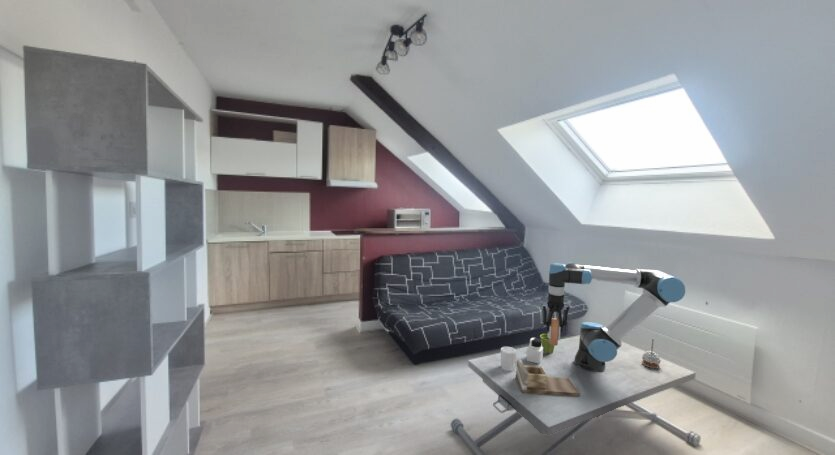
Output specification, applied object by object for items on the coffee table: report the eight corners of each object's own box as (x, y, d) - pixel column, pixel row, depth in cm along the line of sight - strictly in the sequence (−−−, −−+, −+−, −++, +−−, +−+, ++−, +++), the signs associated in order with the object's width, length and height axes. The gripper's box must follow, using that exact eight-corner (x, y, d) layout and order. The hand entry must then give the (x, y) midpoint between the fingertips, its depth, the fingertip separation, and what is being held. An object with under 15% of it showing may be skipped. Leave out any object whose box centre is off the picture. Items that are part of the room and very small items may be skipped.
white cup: (515, 372, 175) (517, 354, 174) (500, 370, 176) (501, 352, 175) (514, 365, 182) (515, 347, 181) (499, 363, 184) (500, 345, 183)
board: (568, 380, 168) (570, 362, 167) (579, 396, 155) (581, 376, 154) (515, 377, 170) (516, 359, 169) (521, 392, 157) (523, 373, 156)
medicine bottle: (542, 359, 190) (543, 338, 189) (539, 364, 184) (540, 343, 183) (529, 355, 194) (530, 335, 193) (526, 360, 188) (527, 339, 187)
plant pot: (554, 356, 194) (555, 341, 193) (537, 352, 199) (538, 337, 198) (557, 350, 202) (558, 336, 201) (541, 346, 207) (542, 332, 206)
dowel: (555, 342, 177) (557, 318, 176) (558, 345, 173) (560, 321, 172) (548, 341, 177) (549, 317, 176) (550, 345, 173) (552, 320, 172)
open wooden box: (540, 378, 167) (541, 366, 166) (546, 388, 158) (546, 375, 157) (521, 376, 167) (522, 365, 167) (526, 387, 158) (527, 374, 158)
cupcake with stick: (662, 367, 185) (664, 340, 183) (653, 370, 181) (656, 343, 180) (647, 361, 192) (649, 335, 190) (639, 363, 188) (641, 337, 187)
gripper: (570, 292, 176) (567, 335, 178) (537, 291, 177) (534, 334, 179) (576, 296, 169) (573, 341, 171) (541, 295, 170) (539, 340, 172)
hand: (553, 337), depth 175 cm, fingers closed on dowel, 4 cm apart
